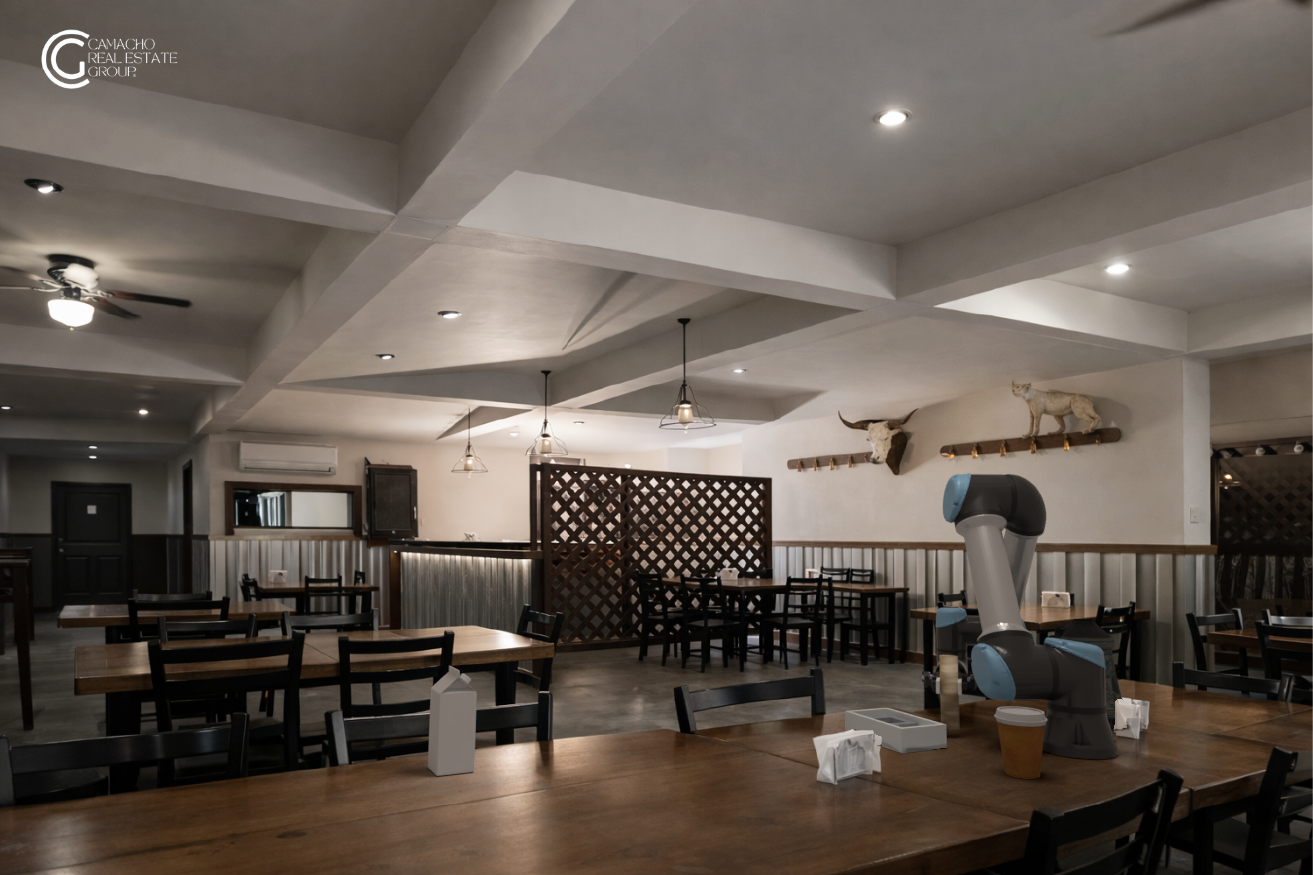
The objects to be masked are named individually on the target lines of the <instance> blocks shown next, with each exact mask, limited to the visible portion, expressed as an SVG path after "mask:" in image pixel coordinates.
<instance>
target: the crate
mask: <svg viewBox="0 0 1313 875" xmlns="http://www.w3.org/2000/svg"><path fill="white" fill-rule="evenodd" d="M851 729H856V730H873V731H874V733H875V734H876V735H878V736H881V737H882V746H881V747H883V748H886V749H887V750H888V749H889V750H892V751H894V752H896V753H899V754H908V753H914V752H915V753H916V752H927V750H928V751H934V750H933V749H937V750H941V749H940V748H947V747H948V744H947V740H948V739H947V734H948V733H947V729H946V724H943V723H941V722H939V721H934V720H932V719H928V718H926V717H925V718H924V717H921V716H918V715H914V714H911V713H907V712H904V711H901V710H897V709H893V708H890V707H880V708H879V707H878V708H868V709H865V708H864V709H856V710H854V709H852V710H845V711H844V732H845V731H847V730H851Z"/></svg>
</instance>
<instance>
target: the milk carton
mask: <svg viewBox="0 0 1313 875" xmlns="http://www.w3.org/2000/svg"><path fill="white" fill-rule="evenodd" d="M471 682H472V679H471V677H469V676H468V675H467V674H465V673H461V675H460V670H459V669H458V668H455V667H453V666H452V665H448V672H446V674H445V675H443V676H442V677H441V678H440V679H439V680H438V681H437V682H436V683H434V685H432V686H431V687H430V699H429V700H430V702H429V704H430V705H429V728H428V729H429V730H428V751H427V752H428V755H427V757H428V758H427V760H428V761H427V769H429V770H430V771H431V772H432V773H433V774H434V775H435V776H437V777H438V776H439V777H440V776H446V775H447V776H449V775H457V774H458V775H459V774H467V773H474V772H475V760H476V759H475V758H476V757H475V754H476V729H477V728H476V724H477V722H476V720H477V696H478V695H477V694H478V693H477V690H476V689H475V688H473V687H472V686H471V685H470V684H469V683H471Z"/></svg>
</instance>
